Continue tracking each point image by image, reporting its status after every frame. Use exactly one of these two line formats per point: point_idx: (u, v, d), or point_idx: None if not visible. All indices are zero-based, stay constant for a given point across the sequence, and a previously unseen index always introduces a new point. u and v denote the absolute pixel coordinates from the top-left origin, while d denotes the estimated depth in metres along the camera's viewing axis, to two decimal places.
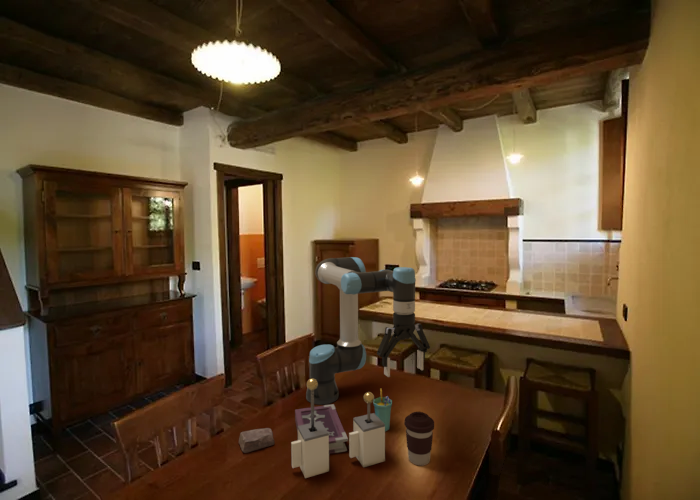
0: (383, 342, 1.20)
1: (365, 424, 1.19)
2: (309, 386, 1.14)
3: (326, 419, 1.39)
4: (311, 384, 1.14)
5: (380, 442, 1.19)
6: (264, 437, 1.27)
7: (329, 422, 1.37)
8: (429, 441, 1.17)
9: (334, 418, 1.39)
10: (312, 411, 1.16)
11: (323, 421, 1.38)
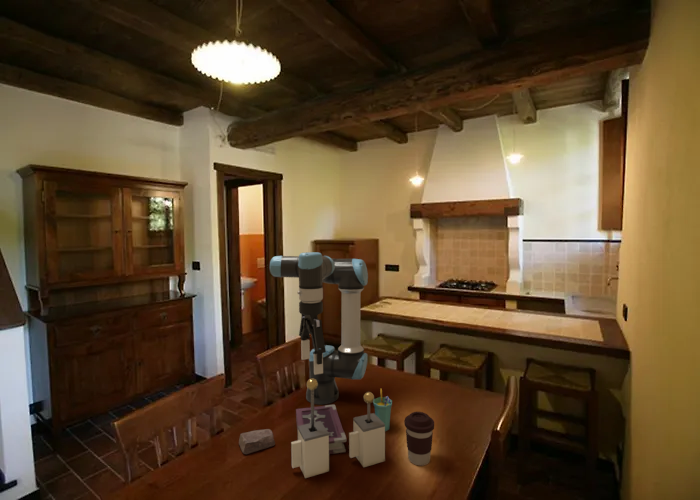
0: None
1: (365, 424, 1.19)
2: (309, 386, 1.14)
3: (326, 419, 1.39)
4: (311, 384, 1.14)
5: (380, 442, 1.19)
6: (264, 438, 1.27)
7: (329, 423, 1.37)
8: (429, 441, 1.17)
9: (334, 418, 1.39)
10: (312, 411, 1.16)
11: (323, 421, 1.38)
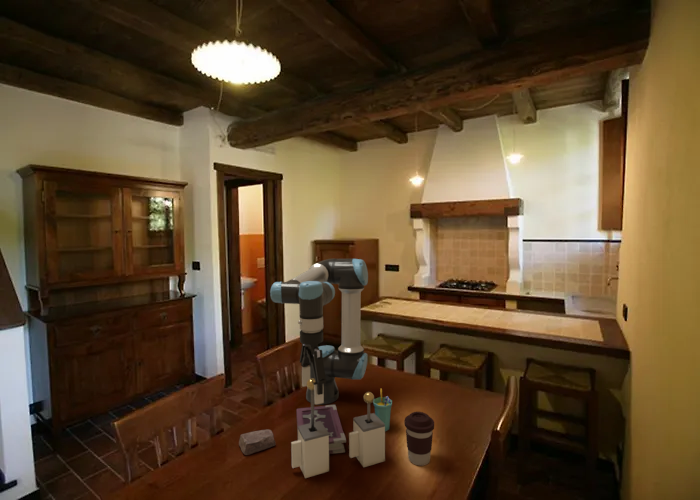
0: None
1: (365, 424, 1.19)
2: (309, 386, 1.14)
3: (326, 419, 1.39)
4: (311, 384, 1.14)
5: (380, 442, 1.19)
6: (265, 438, 1.27)
7: (329, 423, 1.37)
8: (429, 441, 1.17)
9: (334, 418, 1.38)
10: (312, 411, 1.16)
11: (323, 421, 1.38)
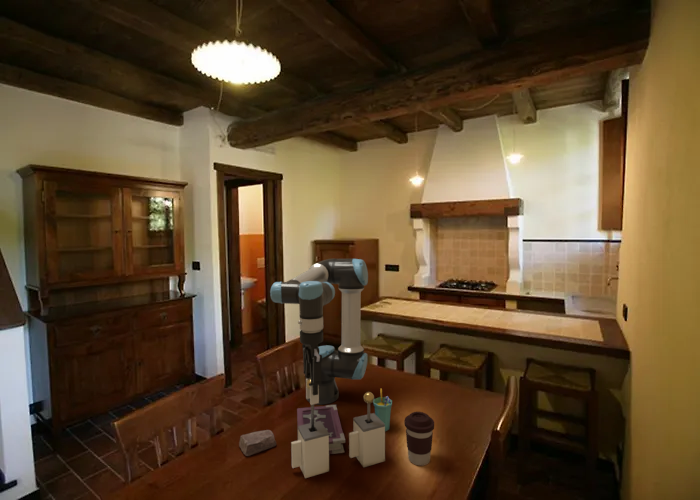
0: None
1: (365, 424, 1.19)
2: (309, 386, 1.14)
3: (326, 419, 1.39)
4: None
5: (380, 442, 1.19)
6: (266, 439, 1.26)
7: (329, 423, 1.36)
8: (429, 441, 1.17)
9: (334, 419, 1.38)
10: (312, 411, 1.16)
11: (323, 421, 1.38)
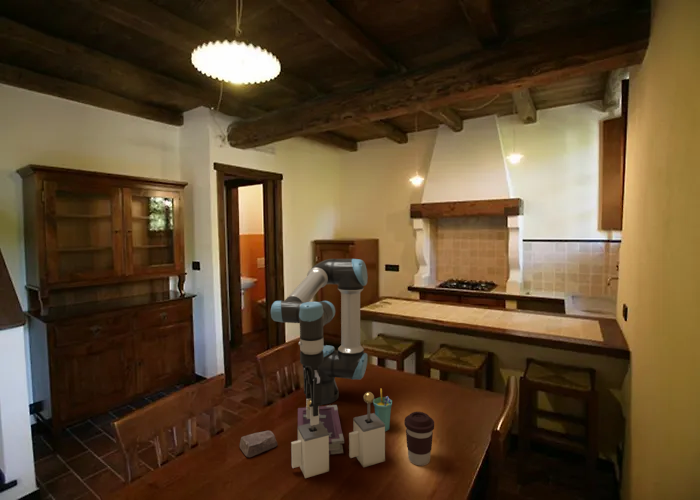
0: None
1: (365, 424, 1.19)
2: (309, 407, 1.14)
3: (327, 419, 1.39)
4: None
5: (380, 442, 1.19)
6: (267, 439, 1.26)
7: (329, 423, 1.36)
8: (429, 441, 1.17)
9: (334, 419, 1.38)
10: (312, 431, 1.16)
11: (323, 421, 1.38)
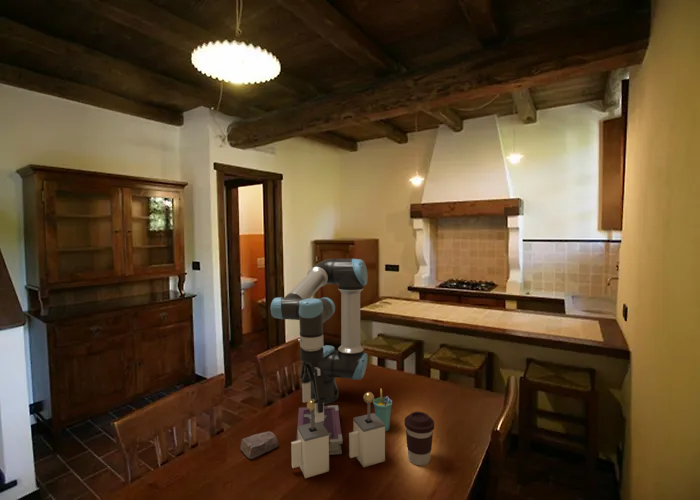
0: None
1: (365, 424, 1.19)
2: (309, 407, 1.14)
3: (327, 420, 1.39)
4: (311, 405, 1.14)
5: (380, 442, 1.19)
6: (269, 440, 1.25)
7: (329, 423, 1.36)
8: (429, 441, 1.17)
9: (334, 419, 1.38)
10: None
11: (323, 421, 1.37)
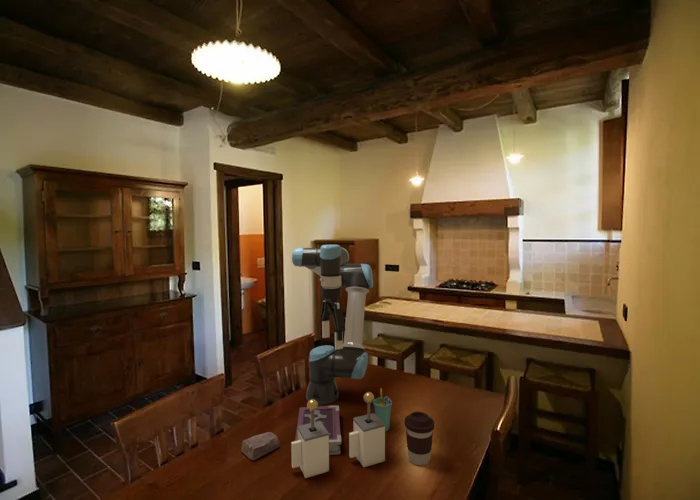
0: None
1: (365, 424, 1.19)
2: (309, 407, 1.14)
3: (327, 420, 1.39)
4: (311, 405, 1.14)
5: (380, 442, 1.19)
6: (271, 441, 1.25)
7: (329, 423, 1.36)
8: (429, 441, 1.17)
9: (334, 419, 1.38)
10: None
11: (323, 421, 1.37)
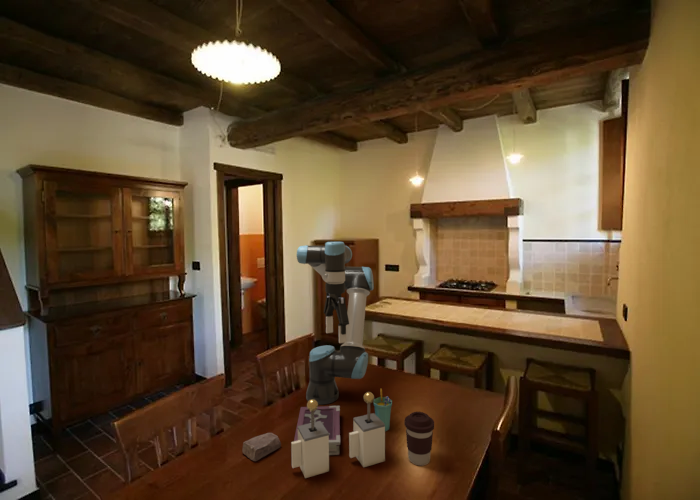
0: None
1: (365, 424, 1.19)
2: (309, 407, 1.14)
3: (327, 420, 1.39)
4: (311, 405, 1.14)
5: (380, 442, 1.19)
6: (272, 441, 1.25)
7: (329, 424, 1.36)
8: (429, 441, 1.17)
9: (335, 420, 1.38)
10: None
11: (323, 422, 1.37)
